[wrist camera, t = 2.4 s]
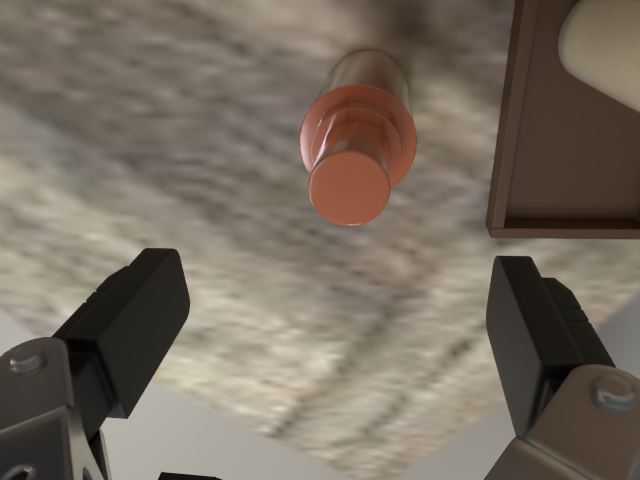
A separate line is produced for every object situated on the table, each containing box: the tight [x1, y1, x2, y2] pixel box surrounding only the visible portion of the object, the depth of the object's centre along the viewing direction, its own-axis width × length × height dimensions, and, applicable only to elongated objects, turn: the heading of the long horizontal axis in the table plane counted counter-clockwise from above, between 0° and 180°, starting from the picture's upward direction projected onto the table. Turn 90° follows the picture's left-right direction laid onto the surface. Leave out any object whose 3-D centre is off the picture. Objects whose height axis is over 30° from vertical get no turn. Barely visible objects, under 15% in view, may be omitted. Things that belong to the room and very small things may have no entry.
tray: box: [486, 0, 640, 239], centre depth 26 cm, size 26×11×2 cm, turn 3°
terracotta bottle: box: [299, 50, 417, 226], centre depth 24 cm, size 5×5×16 cm
